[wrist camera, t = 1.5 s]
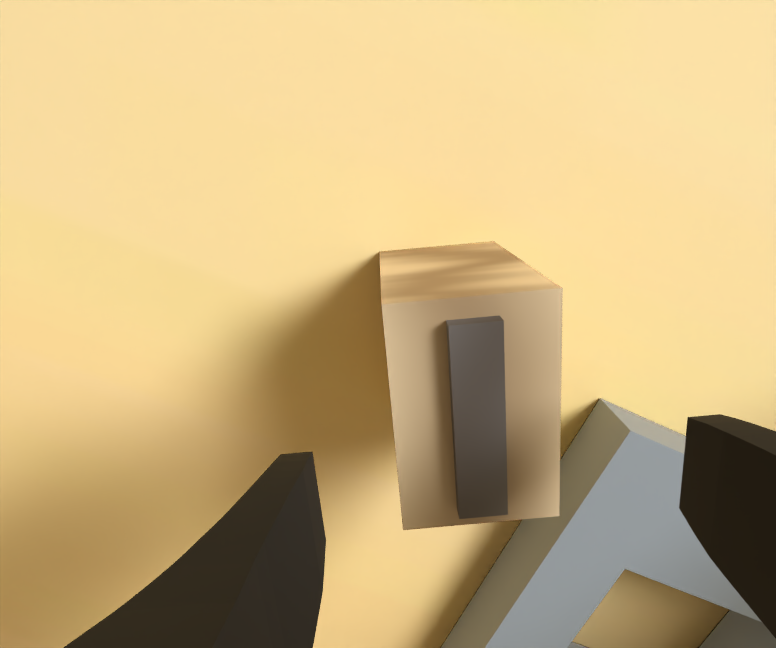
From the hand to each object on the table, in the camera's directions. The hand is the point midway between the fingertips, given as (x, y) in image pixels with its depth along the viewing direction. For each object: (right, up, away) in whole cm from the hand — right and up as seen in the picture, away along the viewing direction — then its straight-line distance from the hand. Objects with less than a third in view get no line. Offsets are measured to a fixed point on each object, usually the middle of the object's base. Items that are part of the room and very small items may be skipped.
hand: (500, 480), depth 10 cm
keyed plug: (0, +3, +9) cm, 10 cm away
